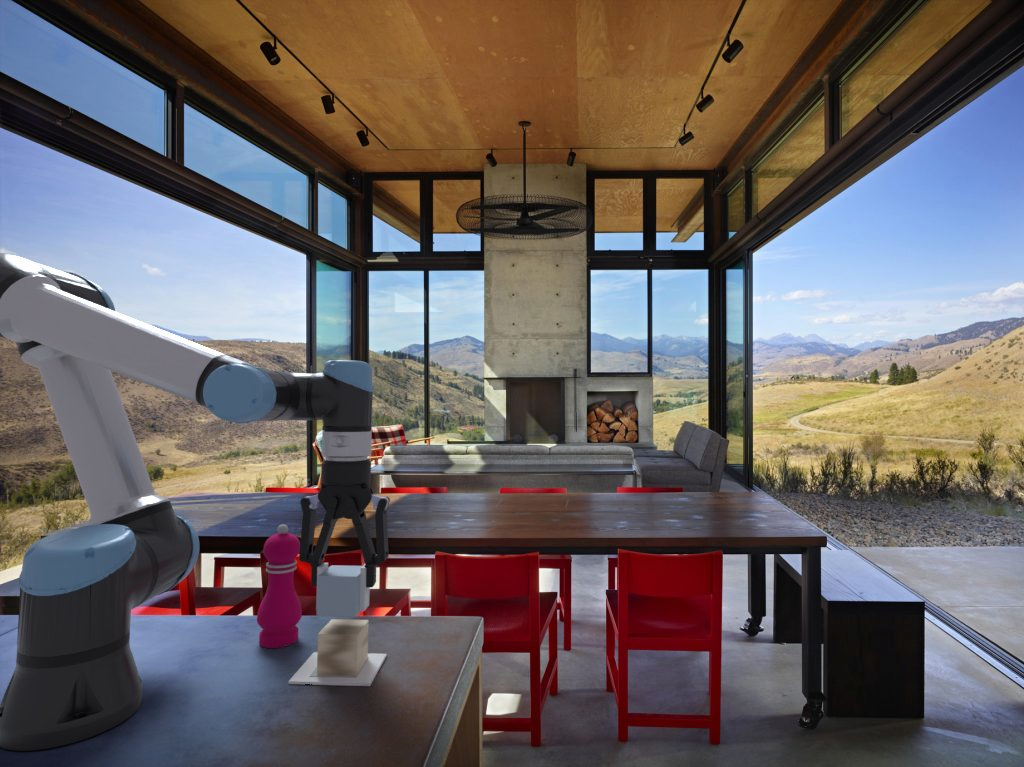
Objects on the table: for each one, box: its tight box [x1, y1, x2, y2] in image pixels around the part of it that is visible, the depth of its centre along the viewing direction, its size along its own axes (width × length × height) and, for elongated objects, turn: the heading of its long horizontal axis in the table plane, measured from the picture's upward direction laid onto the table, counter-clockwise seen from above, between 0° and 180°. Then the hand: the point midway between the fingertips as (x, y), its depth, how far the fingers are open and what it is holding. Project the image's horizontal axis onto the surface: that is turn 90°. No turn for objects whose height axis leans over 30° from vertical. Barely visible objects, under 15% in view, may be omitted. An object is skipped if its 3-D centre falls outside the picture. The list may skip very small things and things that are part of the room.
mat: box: [288, 651, 388, 687], centre depth 87 cm, size 12×10×1 cm
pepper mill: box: [256, 523, 303, 649], centre depth 98 cm, size 7×7×20 cm
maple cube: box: [317, 618, 370, 676], centre depth 87 cm, size 6×6×6 cm
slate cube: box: [316, 564, 363, 618], centre depth 87 cm, size 6×6×6 cm
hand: (343, 607), depth 87 cm, fingers closed on slate cube, 6 cm apart
